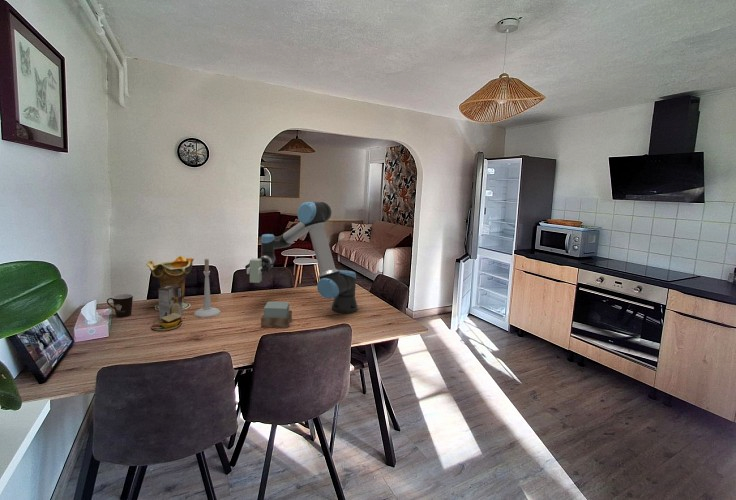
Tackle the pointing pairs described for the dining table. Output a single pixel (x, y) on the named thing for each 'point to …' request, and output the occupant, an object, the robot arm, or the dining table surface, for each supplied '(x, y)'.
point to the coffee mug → (122, 304)
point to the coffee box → (170, 300)
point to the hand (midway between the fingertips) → (253, 271)
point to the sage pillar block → (255, 270)
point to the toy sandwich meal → (168, 322)
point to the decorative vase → (172, 274)
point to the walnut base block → (276, 321)
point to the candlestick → (207, 297)
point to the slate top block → (276, 309)
